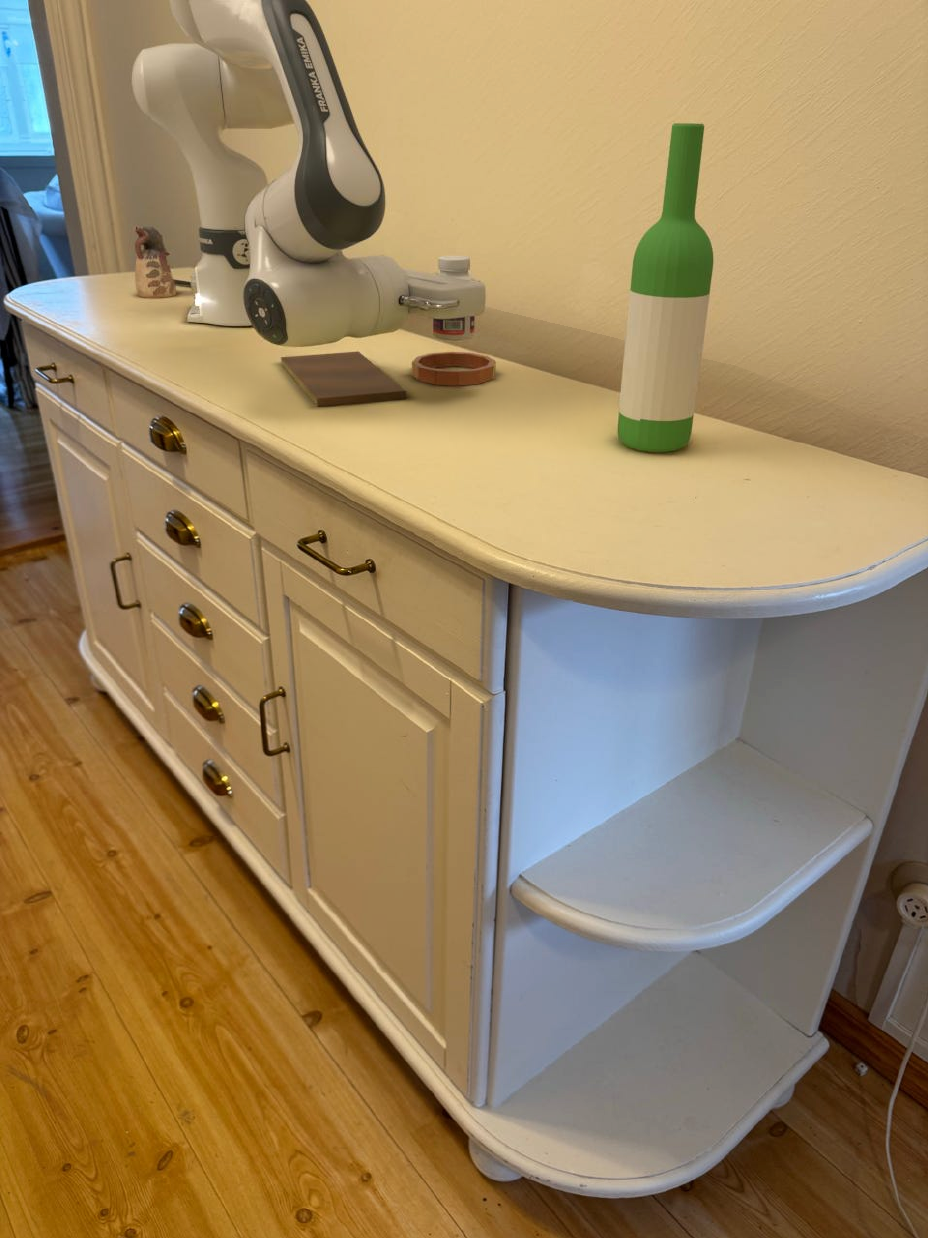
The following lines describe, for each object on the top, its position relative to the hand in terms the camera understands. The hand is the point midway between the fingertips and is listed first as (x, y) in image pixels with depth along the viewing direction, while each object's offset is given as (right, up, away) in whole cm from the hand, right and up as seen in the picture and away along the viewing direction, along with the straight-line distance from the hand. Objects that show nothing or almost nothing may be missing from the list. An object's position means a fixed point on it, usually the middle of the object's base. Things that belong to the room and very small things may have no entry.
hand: (458, 283), depth 118 cm
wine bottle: (+21, -24, -20) cm, 38 cm away
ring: (-1, -10, +5) cm, 12 cm away
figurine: (-57, +18, +55) cm, 81 cm away
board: (-15, -12, +2) cm, 20 cm away
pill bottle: (-1, -6, +3) cm, 7 cm away
